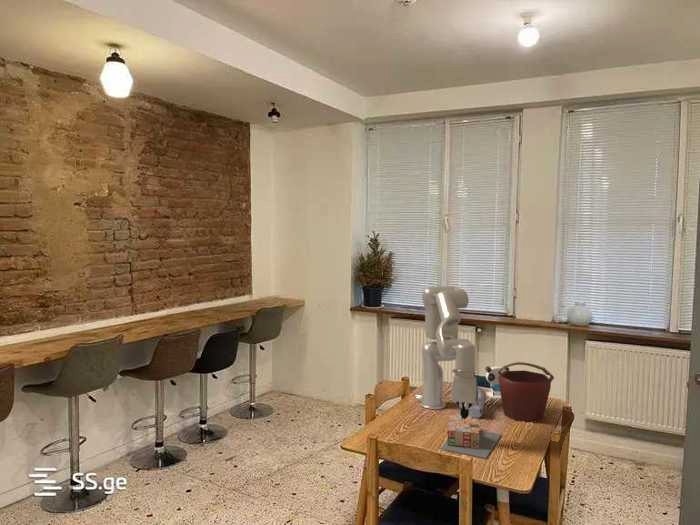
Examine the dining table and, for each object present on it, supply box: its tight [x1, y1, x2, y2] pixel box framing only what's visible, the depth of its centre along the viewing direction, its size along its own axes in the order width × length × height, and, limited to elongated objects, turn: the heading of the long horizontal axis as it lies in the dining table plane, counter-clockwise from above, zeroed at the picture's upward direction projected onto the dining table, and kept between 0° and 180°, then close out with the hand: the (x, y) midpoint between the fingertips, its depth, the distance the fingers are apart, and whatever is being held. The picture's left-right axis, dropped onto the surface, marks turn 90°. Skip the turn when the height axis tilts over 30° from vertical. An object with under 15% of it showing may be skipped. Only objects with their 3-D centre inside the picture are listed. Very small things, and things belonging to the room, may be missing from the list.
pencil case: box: [464, 387, 487, 419], centre depth 248 cm, size 21×9×10 cm, turn 161°
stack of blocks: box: [447, 412, 480, 448], centre depth 216 cm, size 21×6×12 cm
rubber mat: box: [439, 429, 502, 460], centre depth 212 cm, size 18×26×1 cm
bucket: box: [498, 361, 555, 423], centre depth 241 cm, size 24×22×25 cm
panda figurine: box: [484, 365, 510, 399], centre depth 273 cm, size 12×11×15 cm
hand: (464, 417), depth 213 cm, fingers closed
